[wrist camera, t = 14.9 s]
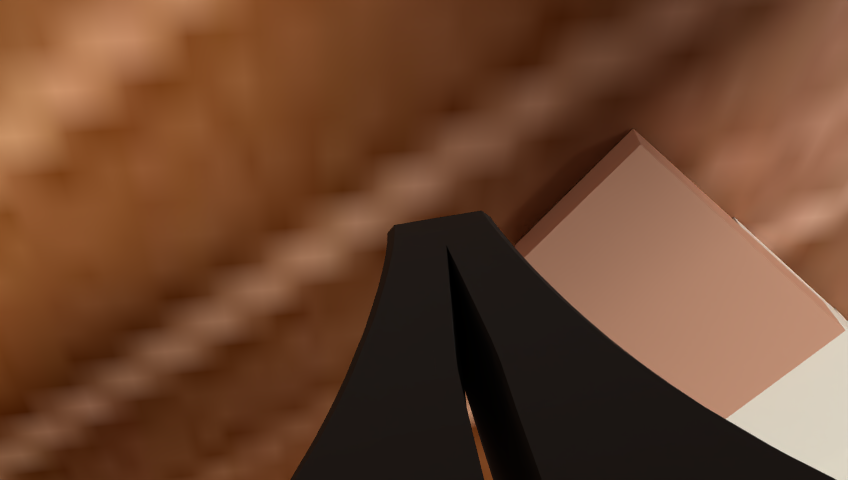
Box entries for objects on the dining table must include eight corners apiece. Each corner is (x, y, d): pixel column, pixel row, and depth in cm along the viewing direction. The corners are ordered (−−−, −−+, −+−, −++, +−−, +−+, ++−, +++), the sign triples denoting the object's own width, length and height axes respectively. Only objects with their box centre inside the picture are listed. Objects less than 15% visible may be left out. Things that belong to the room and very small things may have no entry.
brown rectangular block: (513, 268, 21) (706, 432, 23) (641, 144, 20) (845, 330, 21) (515, 244, 23) (695, 398, 24) (633, 128, 21) (823, 301, 22)
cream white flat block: (625, 343, 24) (792, 484, 25) (749, 239, 22) (923, 398, 23) (619, 315, 25) (776, 449, 27) (734, 217, 24) (897, 366, 25)
